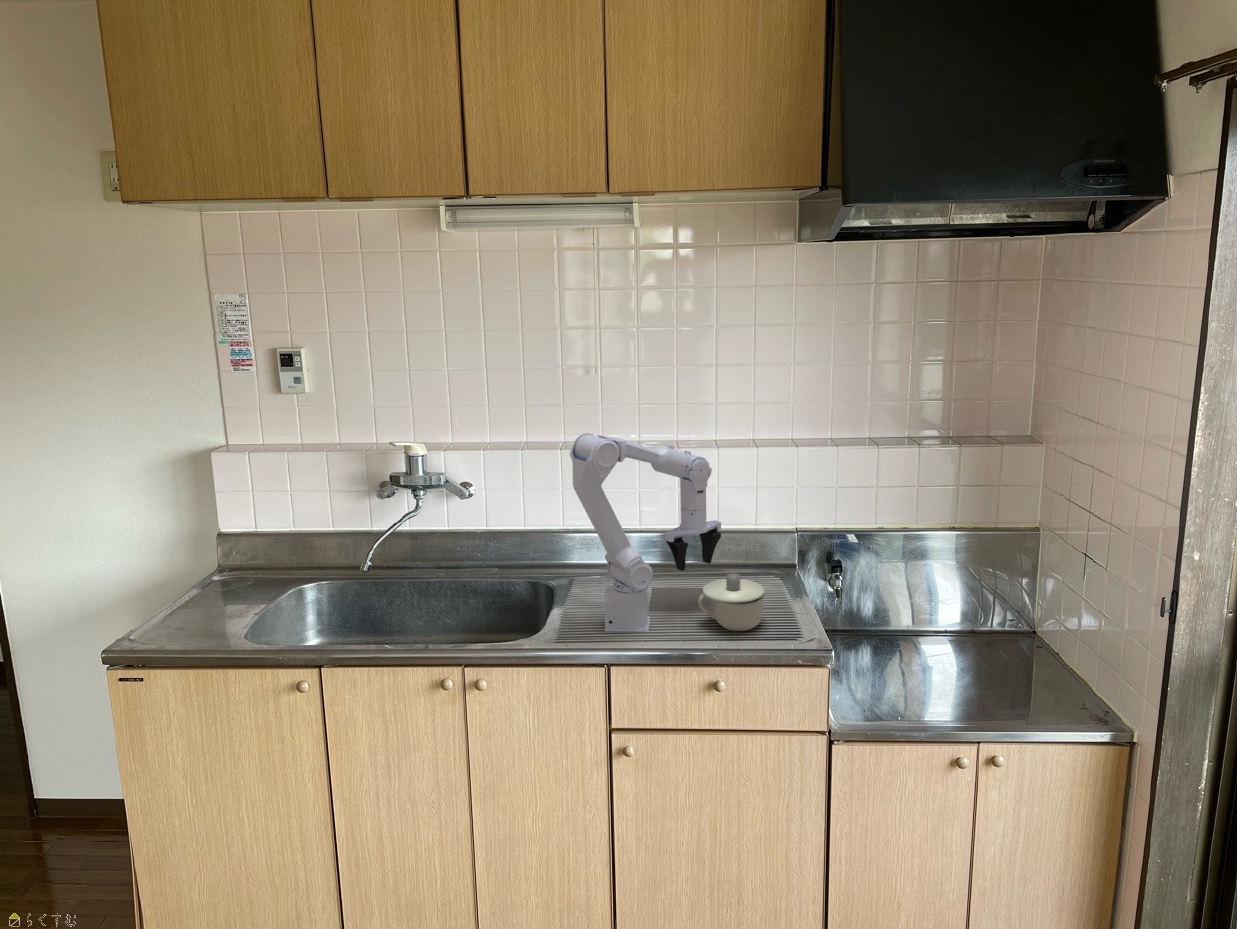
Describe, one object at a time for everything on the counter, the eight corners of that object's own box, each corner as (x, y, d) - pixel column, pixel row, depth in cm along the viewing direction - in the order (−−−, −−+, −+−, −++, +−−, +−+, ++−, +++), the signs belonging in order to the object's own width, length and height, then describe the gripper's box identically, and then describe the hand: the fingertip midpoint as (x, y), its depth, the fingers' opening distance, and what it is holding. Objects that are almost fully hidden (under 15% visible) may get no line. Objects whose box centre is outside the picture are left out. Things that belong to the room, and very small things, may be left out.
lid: (698, 600, 193) (698, 584, 192) (707, 579, 205) (707, 564, 204) (760, 604, 190) (760, 588, 189) (766, 583, 202) (766, 567, 201)
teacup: (766, 619, 202) (766, 585, 201) (759, 639, 192) (760, 603, 191) (704, 614, 206) (704, 580, 205) (694, 633, 196) (694, 598, 194)
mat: (649, 612, 208) (649, 610, 208) (652, 589, 223) (652, 587, 223) (715, 612, 207) (715, 611, 207) (714, 589, 222) (714, 587, 221)
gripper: (706, 498, 211) (707, 555, 214) (656, 509, 203) (657, 568, 206) (727, 505, 206) (727, 562, 209) (676, 516, 198) (676, 576, 201)
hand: (693, 565), depth 207 cm, fingers open, 7 cm apart
